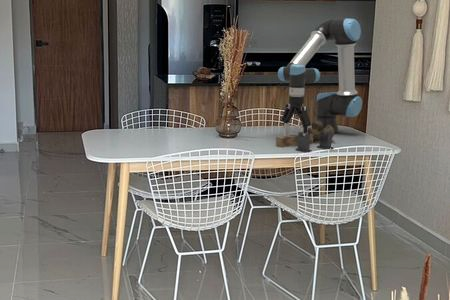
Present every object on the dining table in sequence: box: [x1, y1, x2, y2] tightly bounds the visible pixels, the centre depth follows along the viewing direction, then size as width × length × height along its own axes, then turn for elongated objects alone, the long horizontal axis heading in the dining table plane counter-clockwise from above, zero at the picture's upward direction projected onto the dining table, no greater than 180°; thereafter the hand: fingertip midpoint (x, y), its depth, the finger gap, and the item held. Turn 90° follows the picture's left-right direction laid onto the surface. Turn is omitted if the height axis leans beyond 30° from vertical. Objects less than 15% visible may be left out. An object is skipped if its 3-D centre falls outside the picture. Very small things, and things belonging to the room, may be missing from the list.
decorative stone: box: [307, 120, 335, 142], centre depth 314 cm, size 16×11×15 cm
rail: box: [275, 134, 314, 148], centre depth 303 cm, size 22×4×5 cm, turn 125°
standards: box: [294, 130, 334, 153], centre depth 290 cm, size 18×7×9 cm, turn 123°
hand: (295, 137), depth 303 cm, fingers open, 13 cm apart
